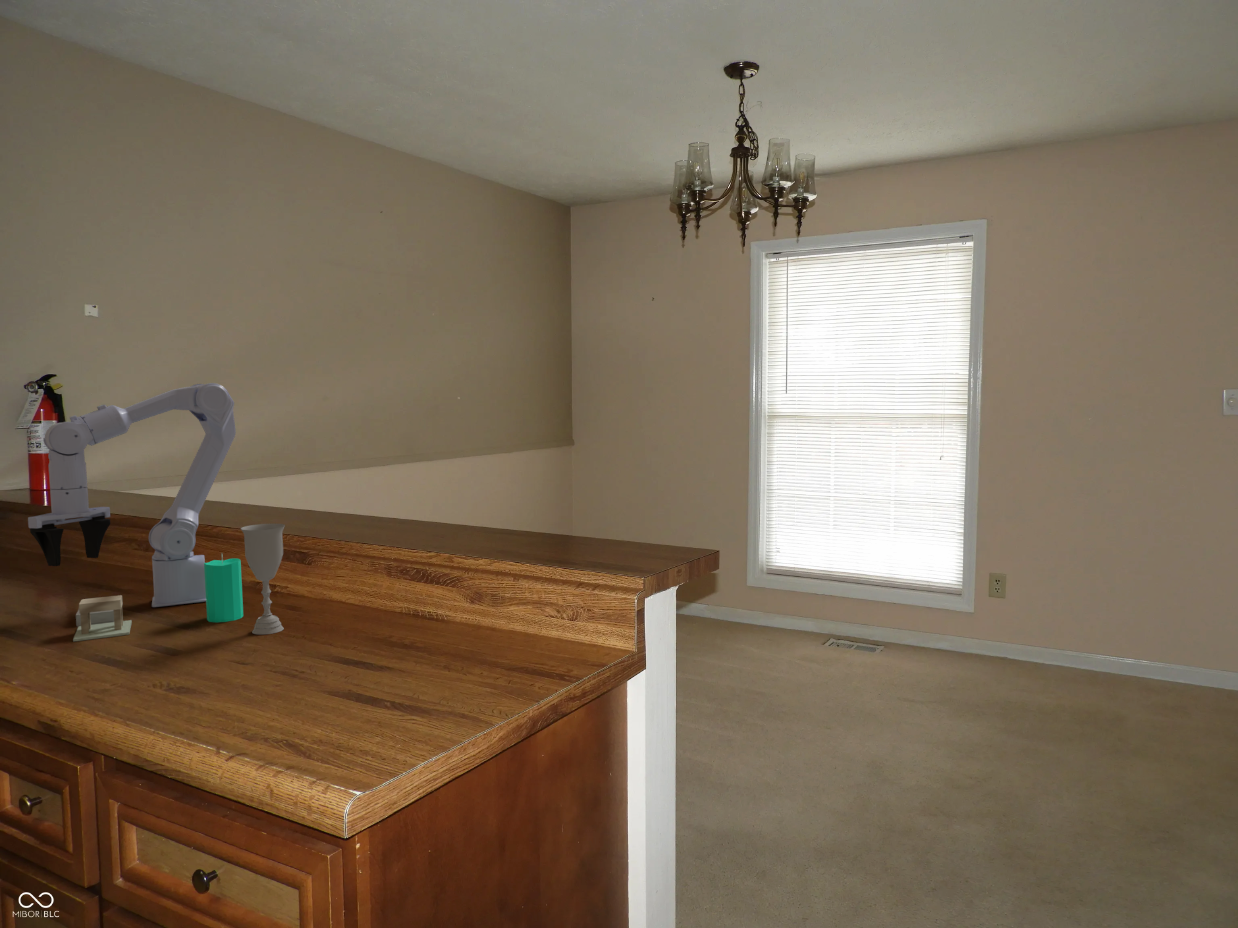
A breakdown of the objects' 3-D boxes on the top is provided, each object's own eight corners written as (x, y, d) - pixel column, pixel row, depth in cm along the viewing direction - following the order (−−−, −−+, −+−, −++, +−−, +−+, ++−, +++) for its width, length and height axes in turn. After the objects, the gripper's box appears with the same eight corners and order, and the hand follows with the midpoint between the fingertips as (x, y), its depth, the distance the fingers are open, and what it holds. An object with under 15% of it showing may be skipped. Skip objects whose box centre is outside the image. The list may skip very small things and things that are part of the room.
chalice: (272, 637, 138) (267, 530, 137) (236, 635, 139) (231, 529, 138) (298, 625, 145) (293, 523, 144) (263, 623, 147) (258, 523, 145)
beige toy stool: (80, 634, 140) (78, 604, 139) (83, 628, 143) (81, 599, 143) (122, 629, 142) (120, 599, 142) (123, 624, 146) (122, 595, 146)
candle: (249, 613, 154) (246, 550, 153) (231, 622, 148) (228, 556, 147) (219, 613, 154) (216, 549, 153) (200, 622, 148) (196, 556, 147)
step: (118, 612, 155) (117, 602, 155) (116, 621, 149) (115, 610, 149) (80, 617, 153) (79, 606, 152) (76, 626, 146) (75, 615, 146)
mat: (131, 622, 149) (131, 619, 149) (129, 634, 141) (129, 632, 141) (78, 628, 145) (78, 626, 145) (73, 641, 137) (73, 639, 137)
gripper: (47, 493, 143) (52, 570, 144) (120, 484, 156) (124, 555, 158) (17, 492, 145) (22, 568, 146) (92, 483, 159) (96, 553, 160)
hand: (73, 561), depth 152 cm, fingers open, 7 cm apart
